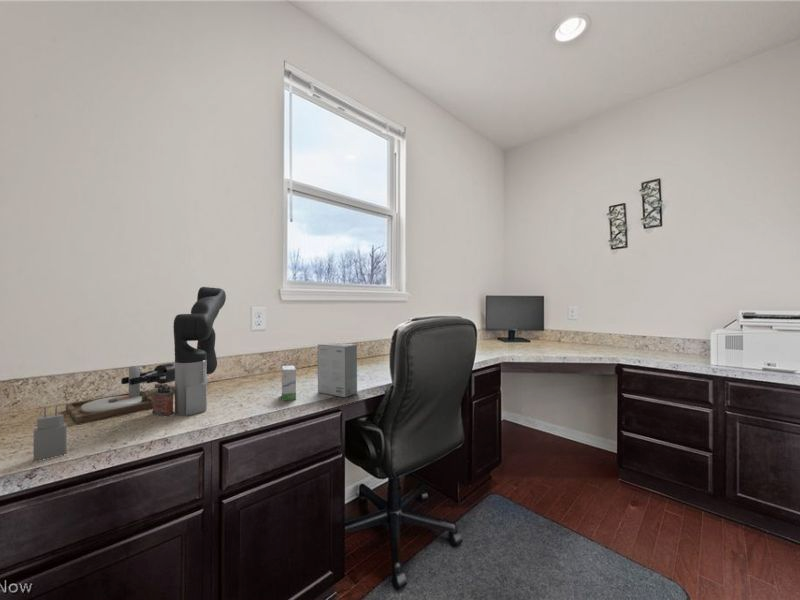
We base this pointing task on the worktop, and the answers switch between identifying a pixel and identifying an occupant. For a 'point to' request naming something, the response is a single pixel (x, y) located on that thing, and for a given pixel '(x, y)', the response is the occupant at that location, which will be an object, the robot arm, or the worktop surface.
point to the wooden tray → (81, 417)
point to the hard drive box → (337, 369)
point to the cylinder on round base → (117, 397)
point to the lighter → (162, 400)
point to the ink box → (288, 383)
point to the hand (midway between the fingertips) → (126, 381)
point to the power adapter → (50, 436)
